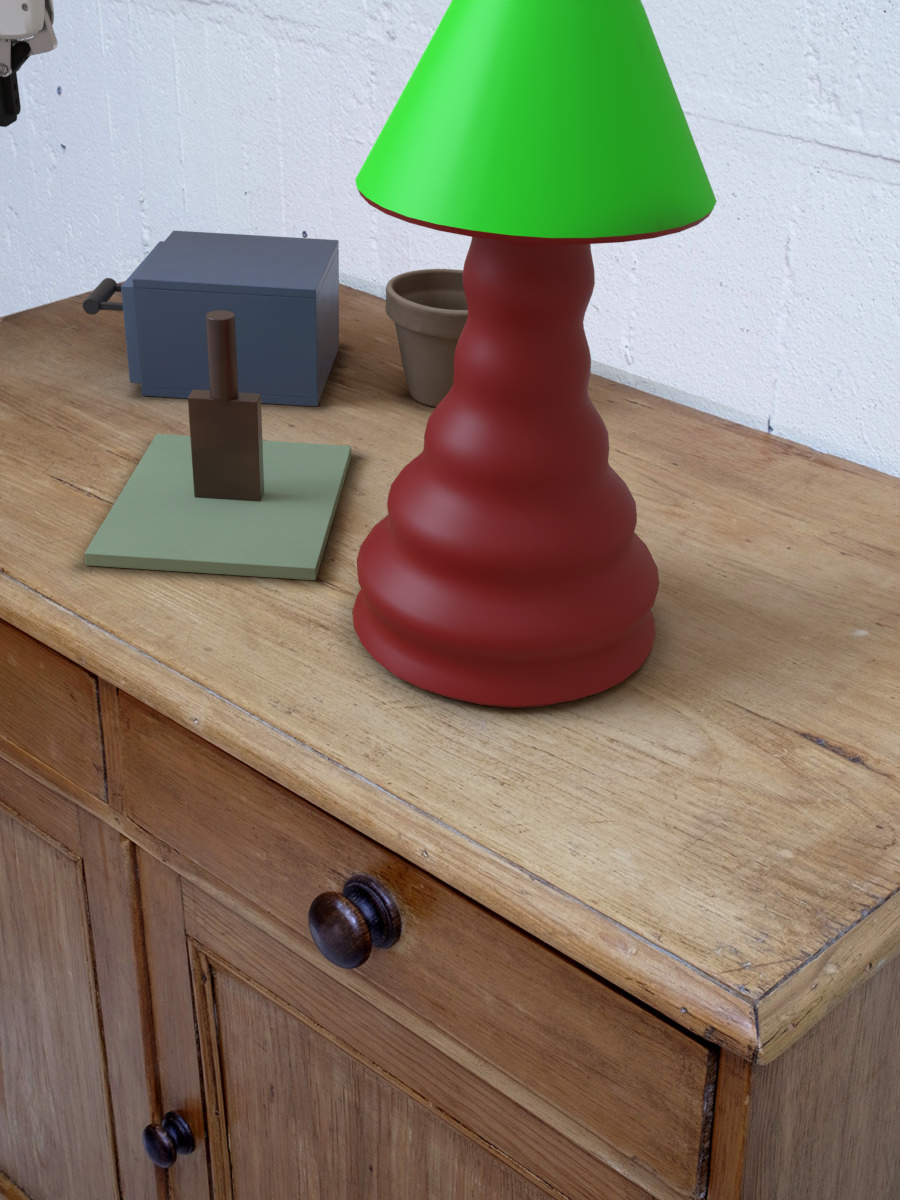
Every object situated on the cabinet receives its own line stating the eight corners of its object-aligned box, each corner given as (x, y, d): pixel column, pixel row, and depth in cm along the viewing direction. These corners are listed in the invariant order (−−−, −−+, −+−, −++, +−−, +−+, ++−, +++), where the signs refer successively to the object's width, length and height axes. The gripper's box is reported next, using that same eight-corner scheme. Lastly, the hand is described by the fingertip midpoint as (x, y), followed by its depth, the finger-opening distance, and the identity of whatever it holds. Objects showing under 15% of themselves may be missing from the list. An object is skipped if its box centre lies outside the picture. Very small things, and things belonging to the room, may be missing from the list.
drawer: (76, 379, 116) (65, 282, 112) (117, 327, 128) (109, 237, 123) (292, 393, 116) (290, 296, 111) (314, 339, 127) (313, 249, 123)
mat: (85, 565, 91) (84, 553, 90) (157, 444, 108) (156, 433, 107) (315, 580, 90) (315, 568, 90) (351, 456, 107) (351, 445, 107)
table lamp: (421, 528, 97) (445, -177, 74) (684, 587, 92) (799, -157, 68) (299, 665, 81) (279, -176, 58) (607, 747, 76) (724, -151, 52)
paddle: (193, 498, 98) (181, 317, 90) (199, 486, 99) (187, 307, 92) (260, 503, 98) (253, 321, 90) (265, 491, 99) (258, 312, 92)
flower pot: (536, 398, 119) (545, 290, 114) (450, 432, 112) (455, 319, 107) (444, 362, 126) (448, 259, 121) (357, 392, 119) (358, 284, 113)
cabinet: (142, 396, 116) (131, 278, 111) (180, 338, 129) (173, 230, 123) (317, 406, 116) (316, 289, 110) (339, 347, 128) (338, 239, 123)
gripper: (-147, -125, 99) (-103, 127, 109) (49, -115, 99) (75, 137, 108) (-105, -130, 106) (-67, 109, 115) (79, -121, 105) (101, 119, 115)
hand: (2, 122), depth 112 cm, fingers closed
